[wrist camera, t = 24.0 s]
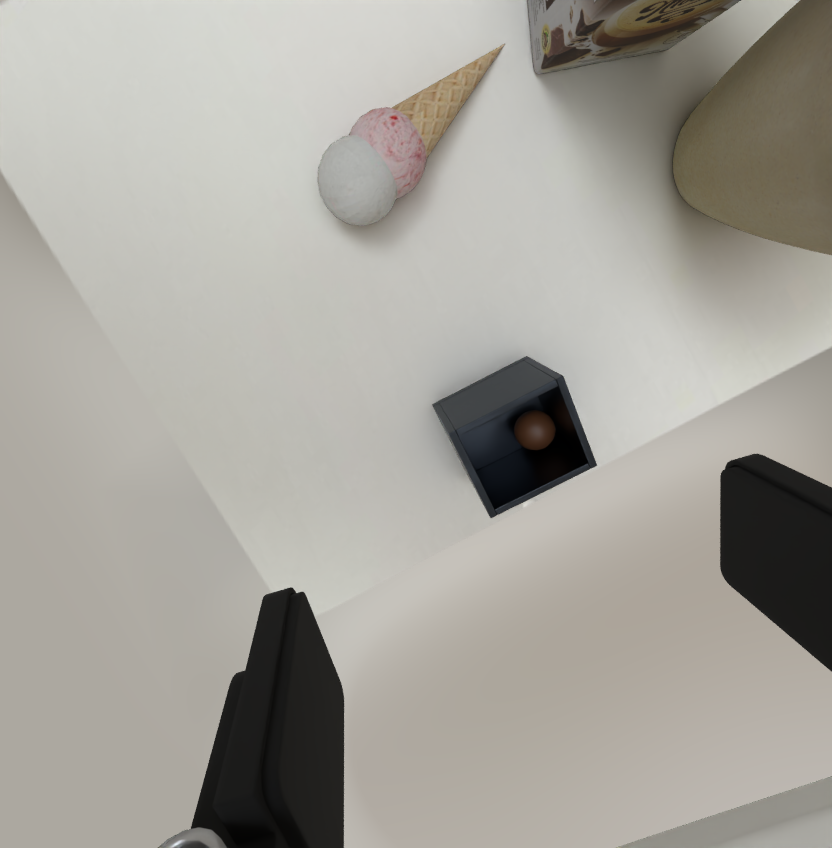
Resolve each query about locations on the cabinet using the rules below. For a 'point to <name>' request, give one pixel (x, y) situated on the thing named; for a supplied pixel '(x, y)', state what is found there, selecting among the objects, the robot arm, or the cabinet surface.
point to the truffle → (534, 430)
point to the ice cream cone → (392, 147)
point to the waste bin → (495, 440)
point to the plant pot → (768, 136)
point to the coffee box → (612, 28)
